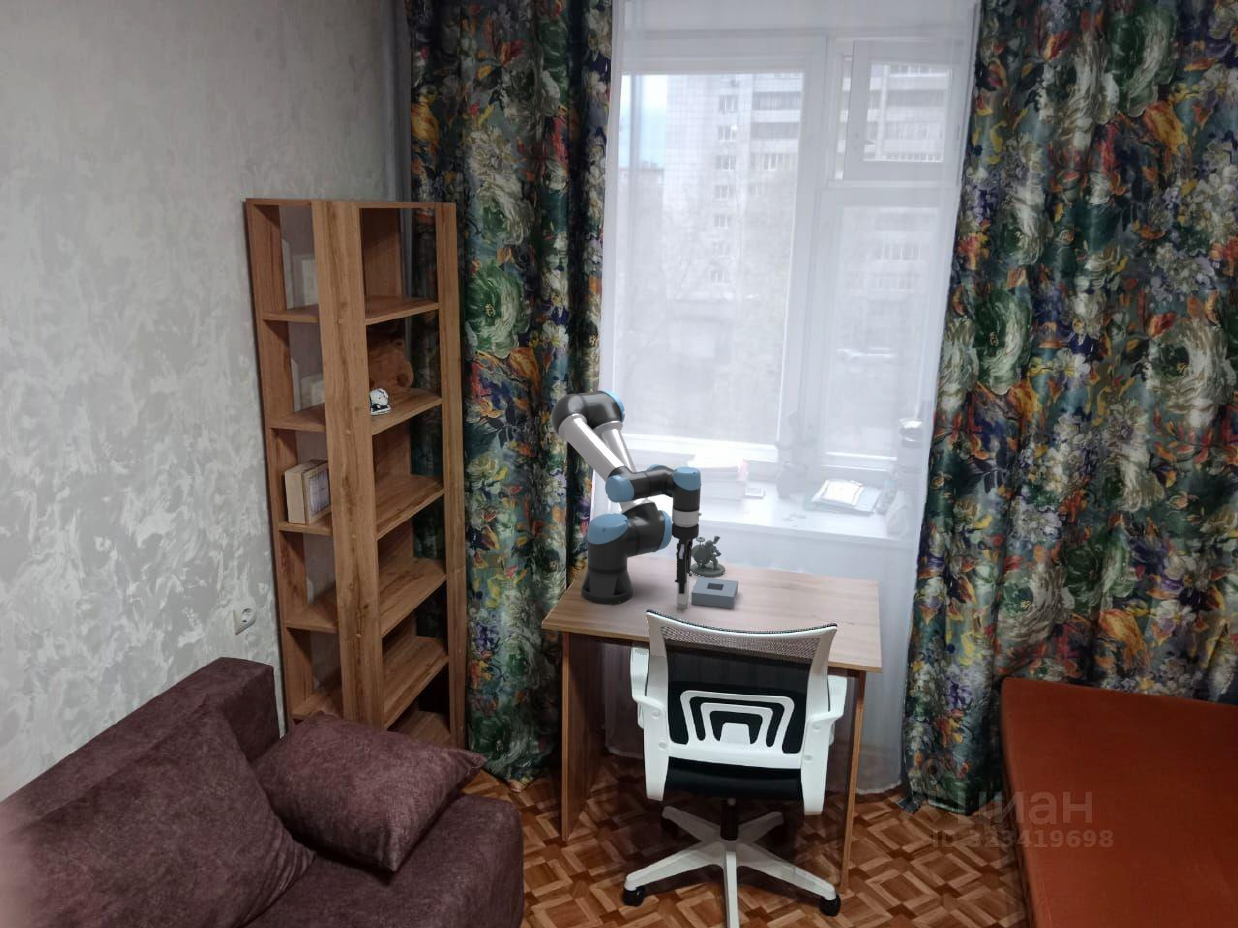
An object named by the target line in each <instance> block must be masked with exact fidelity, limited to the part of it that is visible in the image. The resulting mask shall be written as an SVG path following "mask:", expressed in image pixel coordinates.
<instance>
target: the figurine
mask: <svg viewBox="0 0 1238 928" xmlns="http://www.w3.org/2000/svg"><path fill="white" fill-rule="evenodd" d="M720 539H721V537H720V536H718V535H715V536H713V541H712V539H708V540H707V541H706V538H705V537H703V536H698V537H697V538H695V540H696V542H699V544H696V545H694V546H692V554H691V558H692V559H693V560H694V562H695V563H692V564H691V571H692V572H693V573H695V574H697V575H696V576H698V575H700V576H699V577H701V576H704V577H705V578H716V577H717V576H718V577H721V576H723V575H724V574H725V573H726V568H725V566H724V565H722V564H720V563H719V560H718V559H717V558H718V557H721V555H722V553H721V552H720V551H719V549H717V546H715V545H716V544H717V543H718V541H719V540H720ZM701 543H702V544H701ZM703 543H704V544H703ZM691 571H690V572H691ZM692 572H691V573H692ZM724 572H725V573H724ZM693 573H692V574H693ZM723 573H724V574H723ZM695 574H694V575H695ZM722 574H723V575H722ZM720 575H721V576H720Z"/></svg>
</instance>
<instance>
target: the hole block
mask: <svg viewBox="0 0 1238 928" xmlns="http://www.w3.org/2000/svg"><path fill="white" fill-rule="evenodd" d="M738 587H739V580H733V579H731V580H730V579H724V578H723V579H722V578H716V577H701V576H697V578H696V581H695V583H694V586H693V589H692V591H691V594H690V595H691V599H690V604H691V605H701V606H702V605H703V606H709V607H717V608H718V607H719V608H725V609H726V608H728V609H733V608H734V605H735V602H736V598H737V596H738V591H739V590H738V589H739V588H738Z"/></svg>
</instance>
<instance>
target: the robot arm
mask: <svg viewBox="0 0 1238 928" xmlns="http://www.w3.org/2000/svg"><path fill="white" fill-rule="evenodd" d="M595 391H596V392H595ZM595 391H590V392H579V393H570V394H567V395H564V396H562V397H561V398H559V399H558V400H557V401H556V402H555V404H554V406H553V408H552V410H551V414H550V415H551V416H550V417H551V418H550V420H551V421H550V422H551V426H552V428H553V430H554V432H555V434H556V435H557V436H558V437H559V438H560V439H561V441H564V442H567V443H569V444H570V445H571V446H572V447H573V448H574V449H575V451H577V453H578V454H579V455H580V456H581V457H582V458H583V459H584V461H586V462H587V464H588V465H589V466H590V467H591V468H592V469H593V470H594V471H595V472H596V474H598V476H599V477H600V478H601V479H602V480H603V481H604V483H605V485H604V486H605V487H604V490H605V493H606V495H607V498H608V500H609V501H611V502H612V503H614V504H617V503H618V504H619V507H620V509H621V511H620V513H616V512H615V513H614V512H613V513H605V514H601V515H598V516H595V517H594V518H593V519H591V520H590V521H589V524H588V527H587V534H586V538H587V570H586V572H585V575H584V578H583V581H582V584H581V587H580V588H581V591H580V592H581V594H580V595H581V597H582V598H583V599H584V600H586V601H588V602H590V603H594V604H598V605H599V604H600V605H616V604H621V603H622V604H623V603H625V602H627V601H629V600H630V599H631V598H632V597H633V596H634V595H633V592H634V590H633V589H634V587H633V583H632V581H631V578H630V577H631V576H630V574H629V571H628V559H629V558H633V557H637V556H641V555H646V554H649V553H650V554H651V553H656V552H658V551H661V550H664V549H666V548H667V547H669V545H670V543H671V541H672V538H675V539H678V542H677V543H676V550H677V551H676V553H675V554H676V555H675V556H676V579H675V580H674V583H677V587H676V591H677V592H676V604H677V603H681V604H687V573H688V574H689V578H690V577H693V573H692V572H691V566H692V556H691V554H692V548H693V547H694V546H693V544H694V540H696V538H697V537H699V535H700V524H699V522H700V517H701V516H702V512H700V506H701V488H702V479H701V478H702V477H701V476H702V475H701V471H700V470H699V469H698V468H697V467H693V466H692V467H691V466H678V467H676V468H675V469H673V468H671V467H668V466H666V465H663V464H658V463H656V464H651V465H650V466H649V467H648V468H647V469H645V470H640V471H637V469H636V465H635V463H634V462H633V460H632V457H631V454H630V452H629V449H628V447H627V443H626V441H625V439H624V437H623V435H622V432H621V431H622V428H623V427H624V424H623V422H624V420H625V406H624V403H623V401H622V400H621V398H620V397H619V395H618V394H616V393H615V392H614V391H611V390H601V389H600V390H599V389H598V390H595ZM661 495H663V496H664V495H665V496H667V497H669V498H672V511H671V512H672V513H671V516H670V515H669V514H668V512H666V511H665V510H664V509H663V510H661V509H659V510H658V507H657V504H656V502H655V501H653V500H650V499H649V498H651V497H655V496H656V497H657V496H661ZM689 592H690V586H689V587H688V600H690V598H689V597H690V593H689Z"/></svg>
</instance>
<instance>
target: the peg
mask: <svg viewBox="0 0 1238 928" xmlns="http://www.w3.org/2000/svg"><path fill="white" fill-rule="evenodd" d="M688 587H689V588H690V576H689V574H688V573H687V604H681V603H677V602H676V604H677V605H676V606H677V609H679V610H687V609H688V608H689V607H688V605H689V599H688Z"/></svg>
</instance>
